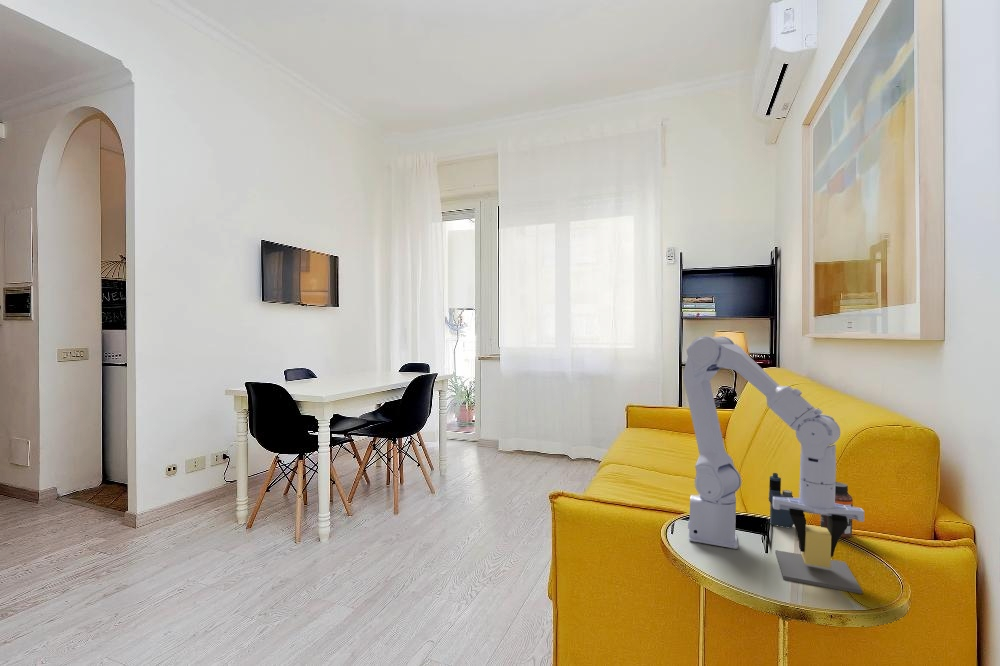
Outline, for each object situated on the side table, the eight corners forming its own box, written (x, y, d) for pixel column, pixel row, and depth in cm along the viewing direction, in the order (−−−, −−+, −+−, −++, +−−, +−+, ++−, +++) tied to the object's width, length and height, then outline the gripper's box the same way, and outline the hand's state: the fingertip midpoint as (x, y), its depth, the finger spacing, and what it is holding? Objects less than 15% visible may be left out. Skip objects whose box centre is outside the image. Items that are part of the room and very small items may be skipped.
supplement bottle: (857, 540, 109) (858, 488, 109) (827, 537, 111) (828, 486, 111) (844, 529, 115) (845, 481, 115) (815, 527, 116) (817, 479, 116)
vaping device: (767, 521, 119) (768, 471, 119) (792, 525, 117) (793, 474, 117) (768, 525, 117) (770, 474, 117) (794, 529, 115) (795, 477, 115)
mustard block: (805, 563, 93) (806, 531, 93) (801, 555, 96) (802, 524, 96) (830, 568, 91) (831, 535, 91) (826, 559, 95) (826, 527, 95)
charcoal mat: (783, 579, 91) (783, 575, 91) (775, 552, 102) (775, 550, 102) (862, 594, 86) (862, 590, 86) (845, 564, 97) (845, 561, 97)
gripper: (776, 480, 93) (774, 553, 93) (870, 491, 87) (868, 569, 87) (772, 471, 100) (770, 539, 100) (859, 481, 94) (857, 553, 94)
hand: (815, 552), depth 94 cm, fingers closed on mustard block, 4 cm apart
